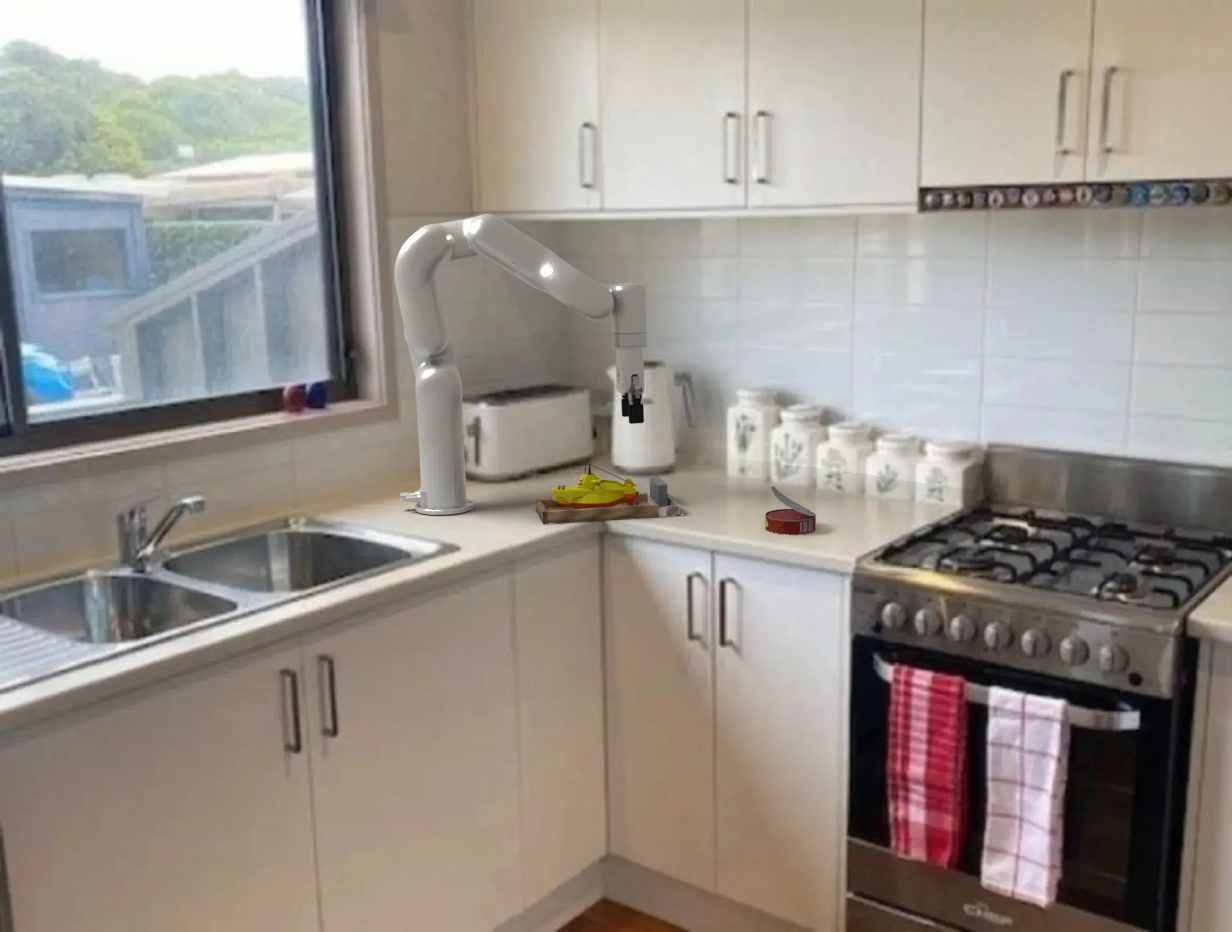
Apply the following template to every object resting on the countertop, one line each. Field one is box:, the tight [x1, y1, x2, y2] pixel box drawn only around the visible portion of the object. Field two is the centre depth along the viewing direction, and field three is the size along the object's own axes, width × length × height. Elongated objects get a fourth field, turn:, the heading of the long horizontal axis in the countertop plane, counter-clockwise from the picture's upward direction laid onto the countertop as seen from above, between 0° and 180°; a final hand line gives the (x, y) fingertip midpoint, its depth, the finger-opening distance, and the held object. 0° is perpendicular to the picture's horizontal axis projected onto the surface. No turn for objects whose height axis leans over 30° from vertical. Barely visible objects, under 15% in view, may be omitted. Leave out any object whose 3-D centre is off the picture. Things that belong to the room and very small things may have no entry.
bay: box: [535, 492, 685, 525], centre depth 257 cm, size 30×20×2 cm
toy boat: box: [551, 463, 640, 509], centre depth 252 cm, size 6×18×10 cm, turn 91°
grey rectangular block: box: [649, 476, 669, 507], centre depth 262 cm, size 2×9×4 cm, turn 10°
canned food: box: [764, 485, 817, 536], centre depth 237 cm, size 11×10×10 cm
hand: (632, 419), depth 262 cm, fingers open, 9 cm apart
